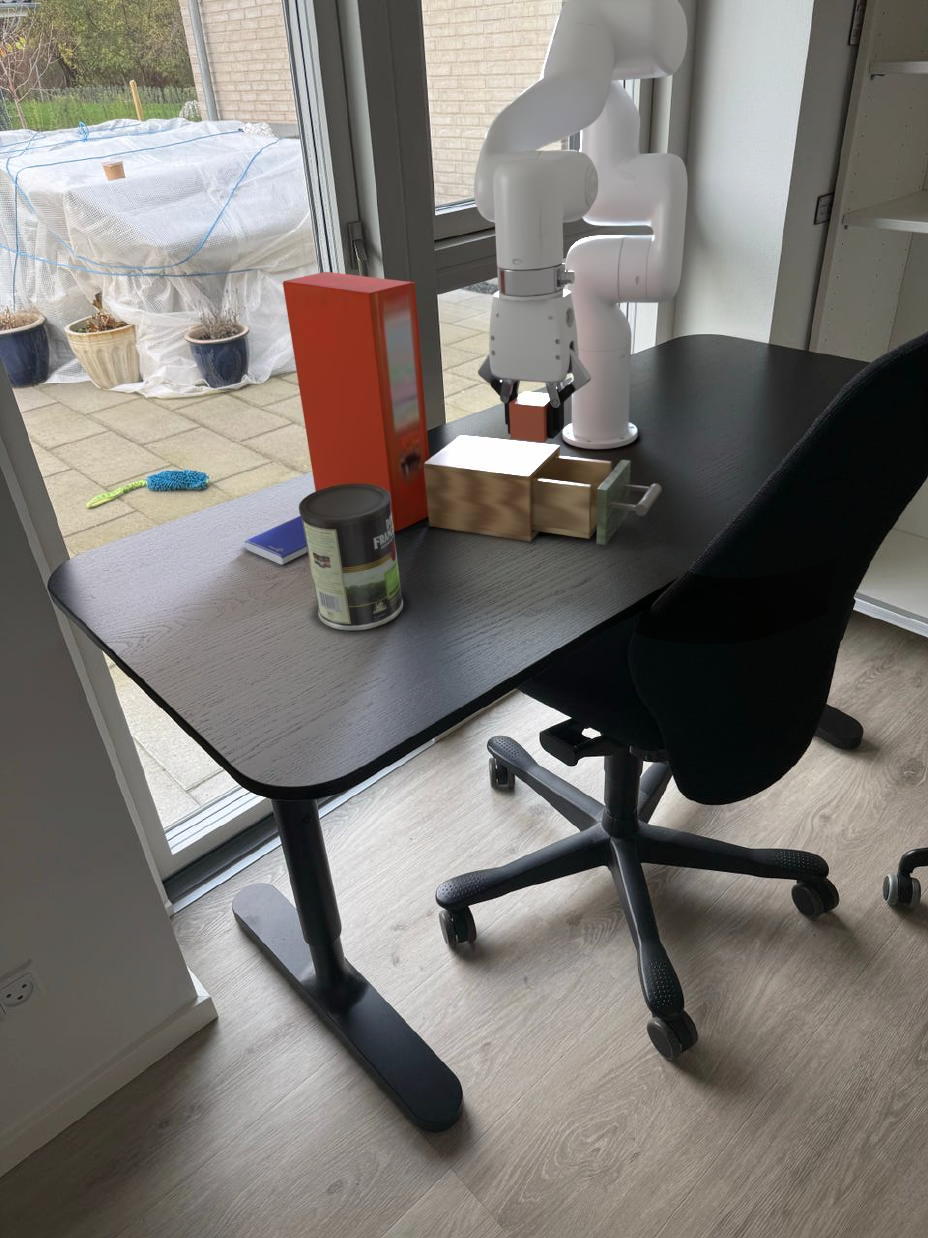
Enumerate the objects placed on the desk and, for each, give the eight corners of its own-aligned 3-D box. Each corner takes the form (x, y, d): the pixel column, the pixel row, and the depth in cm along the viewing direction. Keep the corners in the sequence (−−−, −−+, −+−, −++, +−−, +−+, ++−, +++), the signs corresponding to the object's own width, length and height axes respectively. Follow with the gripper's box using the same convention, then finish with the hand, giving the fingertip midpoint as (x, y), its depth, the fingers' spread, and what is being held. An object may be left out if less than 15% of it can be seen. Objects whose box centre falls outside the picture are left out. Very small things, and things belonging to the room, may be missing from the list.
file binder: (357, 486, 137) (327, 270, 120) (435, 512, 126) (414, 280, 110) (317, 503, 132) (280, 281, 115) (394, 532, 122) (366, 293, 105)
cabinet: (560, 507, 125) (560, 445, 120) (530, 541, 117) (528, 476, 112) (464, 494, 131) (460, 434, 126) (429, 526, 123) (423, 463, 118)
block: (524, 426, 112) (523, 391, 110) (558, 429, 111) (557, 394, 108) (510, 438, 109) (508, 402, 107) (544, 442, 107) (543, 406, 105)
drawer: (663, 517, 118) (666, 464, 114) (641, 550, 111) (644, 494, 106) (531, 500, 126) (530, 449, 122) (503, 529, 118) (500, 476, 114)
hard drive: (281, 555, 115) (351, 521, 122) (244, 539, 119) (313, 507, 127) (283, 565, 115) (352, 531, 123) (246, 549, 120) (315, 517, 128)
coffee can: (412, 588, 108) (400, 482, 101) (391, 633, 99) (377, 521, 92) (332, 585, 110) (315, 481, 102) (306, 629, 101) (285, 519, 94)
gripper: (611, 275, 99) (608, 429, 109) (478, 272, 106) (486, 416, 116) (589, 290, 94) (588, 450, 103) (450, 285, 101) (461, 436, 110)
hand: (534, 431), depth 110 cm, fingers closed on block, 4 cm apart
